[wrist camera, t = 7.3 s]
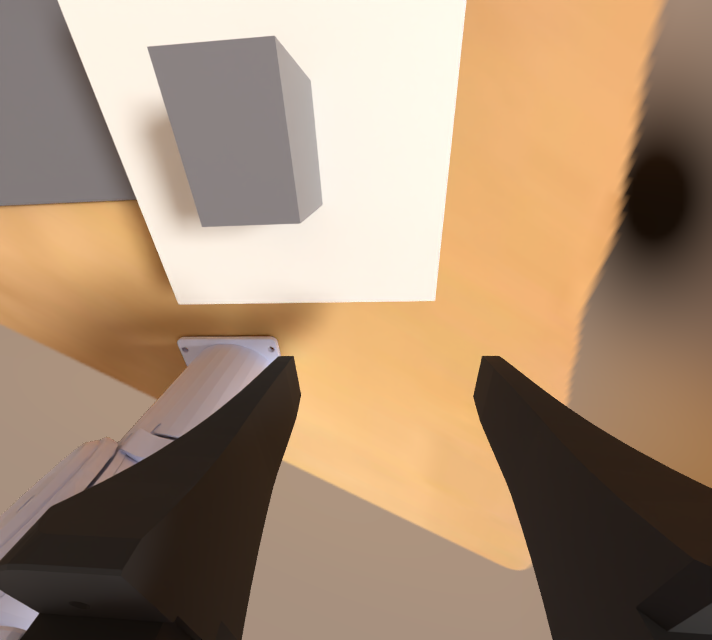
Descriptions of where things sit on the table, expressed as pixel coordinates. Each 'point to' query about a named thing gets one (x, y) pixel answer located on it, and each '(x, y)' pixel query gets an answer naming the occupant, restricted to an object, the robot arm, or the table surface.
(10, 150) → the mat
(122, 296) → the table surface
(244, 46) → the lid
